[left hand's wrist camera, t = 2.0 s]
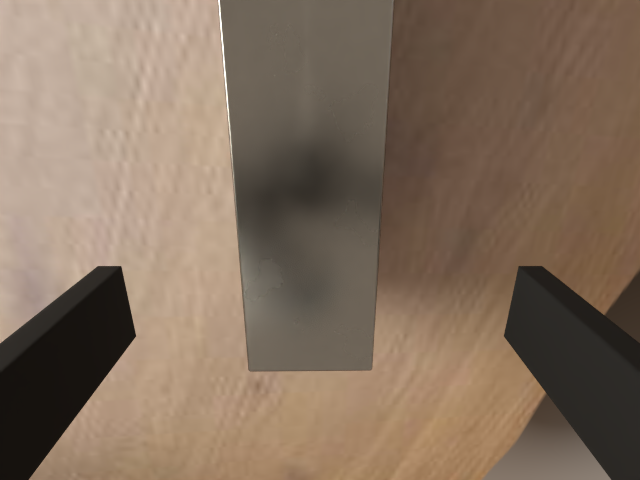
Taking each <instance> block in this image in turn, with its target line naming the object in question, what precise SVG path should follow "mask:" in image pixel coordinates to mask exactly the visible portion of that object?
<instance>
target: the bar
mask: <svg viewBox="0 0 640 480" xmlns="http://www.w3.org/2000/svg"><path fill="white" fill-rule="evenodd" d="M394 2H395V0H218V10H219V22H220V34H221V46H222V58H223V70H224V82H225V94H226V106H227V118H228V130H229V142H230V154H231V165H232V177H233V189H234V201H235V213H236V225H237V237H238V249H239V261H240V273H241V285H242V297H243V309H244V321H245V333H246V345H247V357H248V369H249V371H356V370H371V369H372V362H373V346H374V329H375V313H376V297H377V280H378V264H379V248H380V231H381V215H382V198H383V182H384V166H385V149H386V133H387V116H388V100H389V84H390V67H391V51H392V35H393V18H394Z"/></svg>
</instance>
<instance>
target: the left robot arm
mask: <svg viewBox="0 0 640 480" xmlns="http://www.w3.org/2000/svg"><path fill="white" fill-rule="evenodd" d="M135 337H136V334H135V329H134V324H133V319H132V315H131V310H130V305H129V301H128V296H127V291H126V286H125V282H124V277H123V272H122V268H121V266H98V267H96V268H95V269H94V270H93V271H91V272H90V273H89V274H88V275H86V276H85V277H84V278H82V279H81V280H80V281H79V282H77V283H76V284H75V285H74V286H72V287H71V288H70V289H69V290H67V291H66V292H65V293H64V294H62V295H61V296H60V297H58V298H57V299H56V300H55V301H53V302H52V303H51V304H50V305H48V306H47V307H46V308H45V309H43V310H42V311H41V312H39V313H38V314H37V315H36V316H34V317H33V318H32V319H31V320H29V321H28V322H27V323H26V324H24V325H23V326H22V327H21V328H19V329H18V330H17V331H15V332H14V333H13V334H12V335H10V336H9V337H8V338H7V339H5V340H4V341H3V342H2V343H0V480H29V478H30V477H31V476H32V474H33V473H34V472H35V470H36V469H37V468H38V466H39V465H40V464H41V462H42V461H43V460H44V458H45V457H46V456H47V454H48V453H49V452H50V450H51V449H52V448H53V446H54V445H55V444H56V442H57V441H58V440H59V438H60V437H61V436H62V434H63V433H64V432H65V430H66V429H67V428H68V426H69V425H70V424H71V422H72V421H73V420H74V418H75V417H76V416H77V414H78V413H79V412H80V410H81V409H82V408H83V406H84V405H85V404H86V402H87V401H88V400H89V398H90V397H91V396H92V394H93V393H94V392H95V390H96V389H97V388H98V386H99V385H100V384H101V382H102V381H103V380H104V378H105V377H106V376H107V374H108V373H109V372H110V370H111V369H112V368H113V366H114V365H115V364H116V362H117V361H118V360H119V358H120V357H121V356H122V354H123V353H124V352H125V350H126V349H127V348H128V346H129V345H130V344H131V342H132V341H133V340H134V338H135ZM504 337H505V338H506V340H507V341H508V342H509V344H510V345H511V346H512V348H513V349H514V350H515V352H516V353H517V354H518V356H519V357H520V358H521V360H522V361H523V362H524V364H525V365H526V366H527V368H528V369H529V370H530V372H531V373H532V374H533V376H534V377H535V378H536V380H537V381H538V382H539V384H540V385H541V386H542V388H543V389H544V390H545V392H546V393H547V394H548V396H549V397H550V398H551V400H552V401H553V402H554V404H555V405H556V406H557V408H558V409H559V410H560V412H561V413H562V414H563V416H564V417H565V418H566V420H567V421H568V422H569V424H570V425H571V426H572V428H573V429H574V430H575V432H576V433H577V434H578V436H579V437H580V438H581V440H582V441H583V442H584V444H585V445H586V446H587V448H588V449H589V450H590V452H591V453H592V454H593V456H594V457H595V458H596V460H597V461H598V462H599V464H600V465H601V466H602V468H603V469H604V470H605V472H606V473H607V474H608V476H609V477H610V478H611V480H640V343H638V342H637V341H636V340H635V339H633V338H632V337H631V336H629V335H628V334H627V333H626V332H624V331H623V330H622V329H621V328H619V327H618V326H617V325H616V324H614V323H613V322H612V321H611V320H609V319H608V318H607V317H606V316H604V315H603V314H602V313H601V312H599V311H598V310H597V309H595V308H594V307H593V306H592V305H590V304H589V303H588V302H587V301H585V300H584V299H583V298H582V297H580V296H579V295H578V294H576V293H575V292H574V291H573V290H571V289H570V288H569V287H568V286H566V285H565V284H564V283H563V282H561V281H560V280H559V279H558V278H556V277H555V276H554V275H552V274H551V273H550V272H549V271H547V270H546V269H545V268H544V267H542V266H519V268H518V272H517V277H516V282H515V286H514V291H513V296H512V301H511V305H510V310H509V315H508V319H507V324H506V329H505V334H504Z"/></svg>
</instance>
